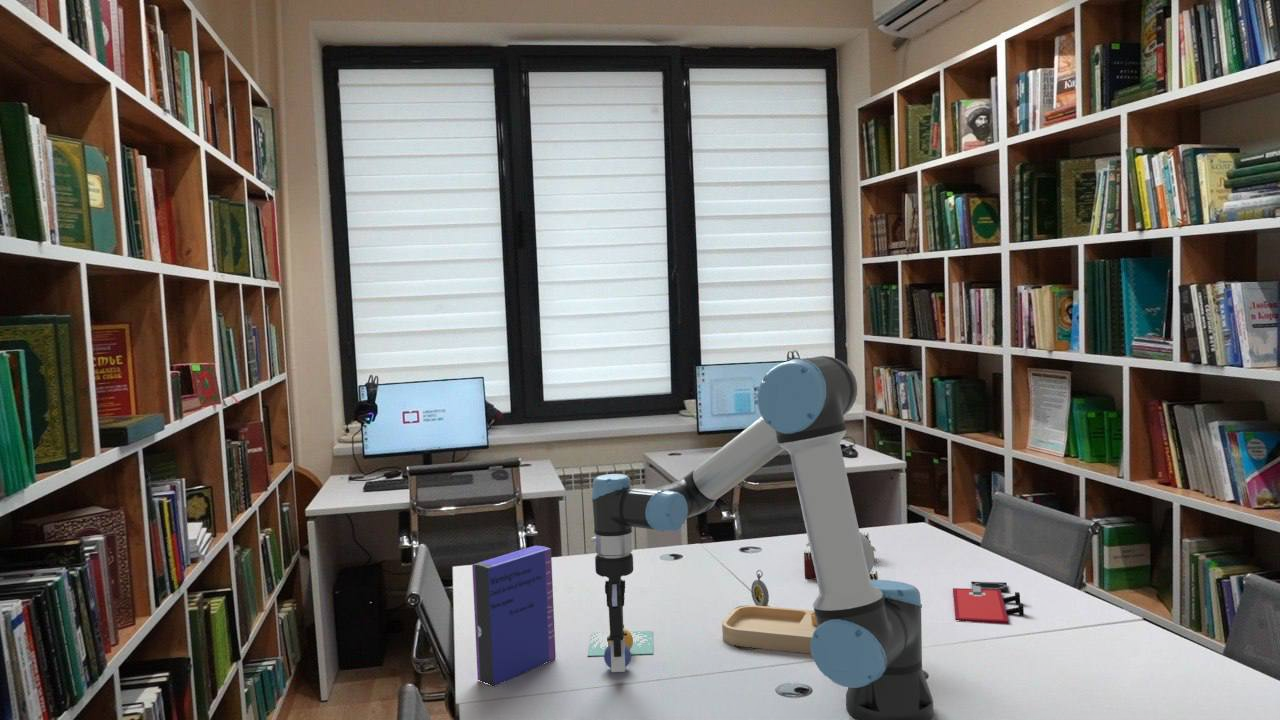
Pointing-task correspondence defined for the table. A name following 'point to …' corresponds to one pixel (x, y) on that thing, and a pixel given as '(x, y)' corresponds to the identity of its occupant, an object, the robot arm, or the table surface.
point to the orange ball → (626, 639)
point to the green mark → (634, 650)
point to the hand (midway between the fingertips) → (618, 670)
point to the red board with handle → (985, 603)
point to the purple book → (513, 614)
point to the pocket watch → (759, 592)
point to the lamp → (777, 622)
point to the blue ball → (608, 655)
